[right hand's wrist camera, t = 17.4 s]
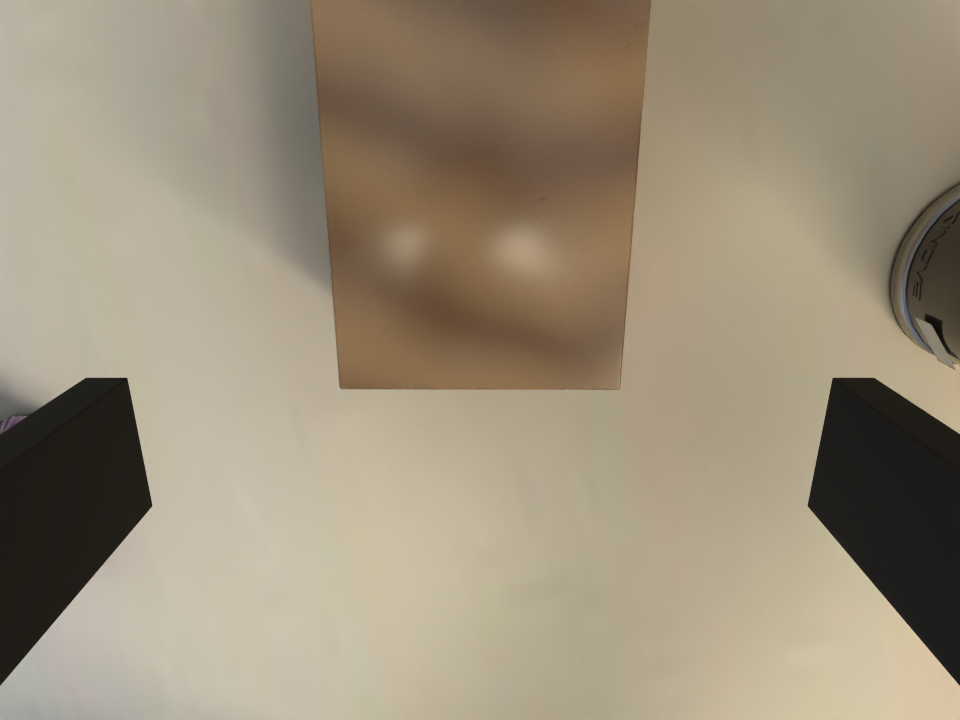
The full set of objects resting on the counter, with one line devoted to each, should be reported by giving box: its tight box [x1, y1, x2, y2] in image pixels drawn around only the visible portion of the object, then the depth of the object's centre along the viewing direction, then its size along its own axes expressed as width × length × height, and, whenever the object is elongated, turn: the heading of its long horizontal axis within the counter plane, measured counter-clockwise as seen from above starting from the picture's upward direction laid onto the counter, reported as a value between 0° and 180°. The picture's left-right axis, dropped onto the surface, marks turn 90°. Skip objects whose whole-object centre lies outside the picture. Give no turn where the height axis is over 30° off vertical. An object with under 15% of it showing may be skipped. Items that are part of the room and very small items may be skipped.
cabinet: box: [310, 0, 651, 389], centre depth 26 cm, size 19×11×9 cm, turn 0°
